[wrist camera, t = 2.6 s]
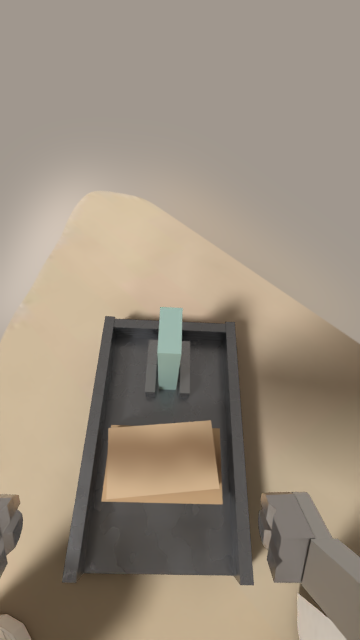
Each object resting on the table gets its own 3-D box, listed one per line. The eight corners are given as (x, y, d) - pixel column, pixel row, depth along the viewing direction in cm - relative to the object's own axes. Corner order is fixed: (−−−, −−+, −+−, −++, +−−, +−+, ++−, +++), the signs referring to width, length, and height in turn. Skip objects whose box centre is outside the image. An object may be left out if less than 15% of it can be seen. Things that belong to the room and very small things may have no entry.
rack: (243, 572, 25) (253, 585, 22) (73, 570, 24) (61, 582, 21) (228, 335, 35) (234, 322, 32) (110, 330, 35) (105, 316, 32)
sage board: (175, 389, 31) (181, 354, 22) (158, 389, 31) (157, 352, 22) (177, 354, 33) (182, 308, 24) (160, 353, 33) (160, 307, 24)
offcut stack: (218, 502, 26) (227, 506, 23) (105, 500, 26) (96, 503, 23) (216, 427, 29) (223, 420, 26) (114, 424, 29) (108, 416, 26)
